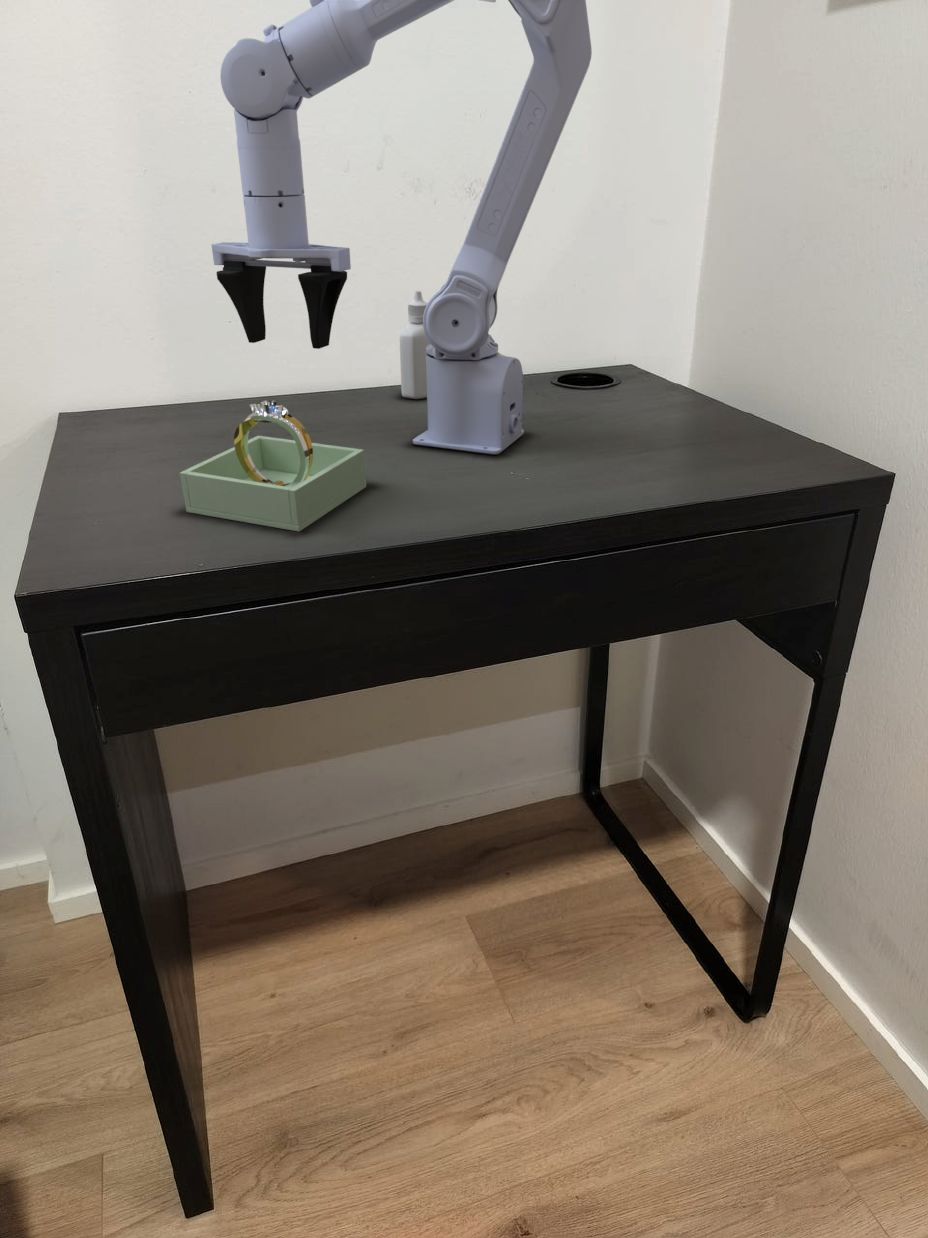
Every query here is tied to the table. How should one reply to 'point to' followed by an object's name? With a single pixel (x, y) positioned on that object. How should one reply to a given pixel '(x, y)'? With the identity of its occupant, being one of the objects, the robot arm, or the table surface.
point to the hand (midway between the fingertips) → (288, 343)
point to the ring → (285, 420)
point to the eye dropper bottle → (414, 351)
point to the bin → (239, 498)
